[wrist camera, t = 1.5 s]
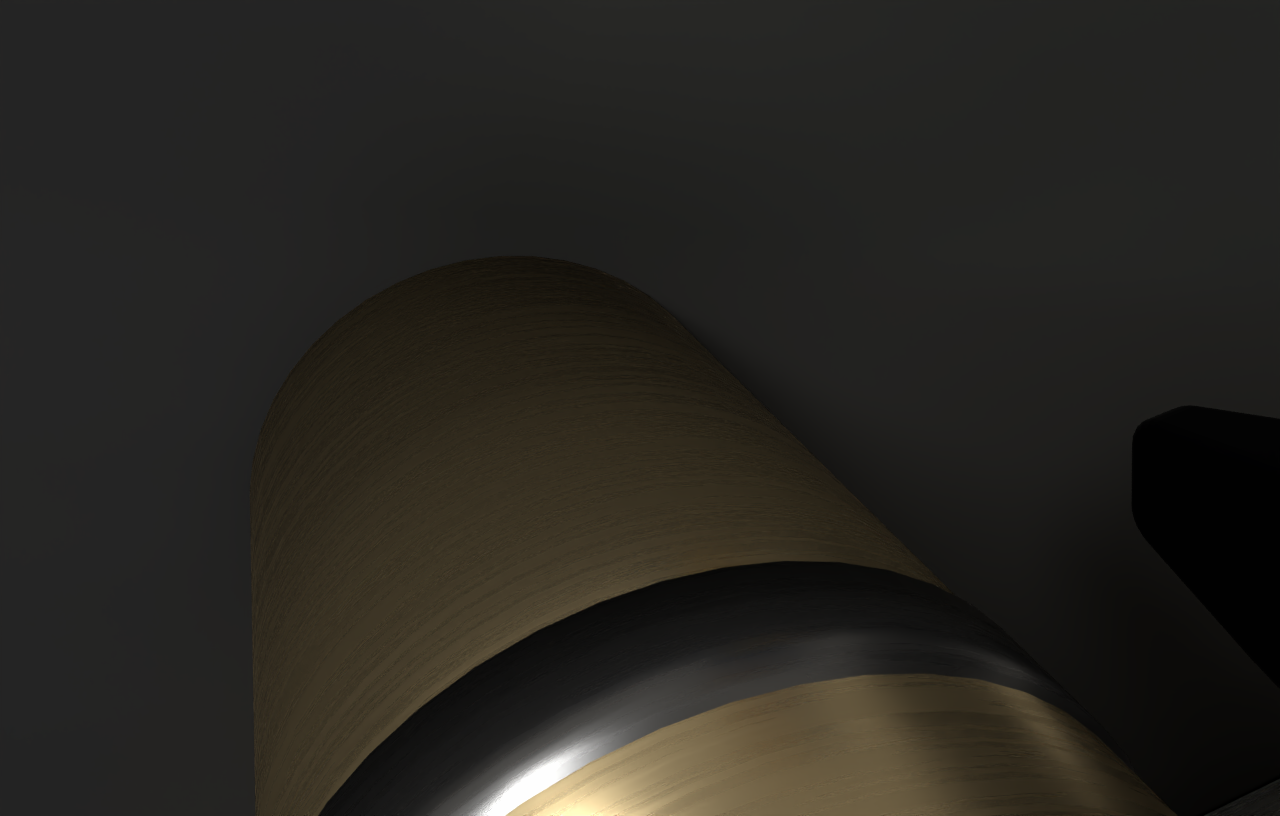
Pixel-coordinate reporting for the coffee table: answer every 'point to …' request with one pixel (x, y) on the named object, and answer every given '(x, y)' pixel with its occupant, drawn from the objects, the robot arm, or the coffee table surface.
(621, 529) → the brass can
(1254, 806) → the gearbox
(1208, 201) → the coffee table surface
